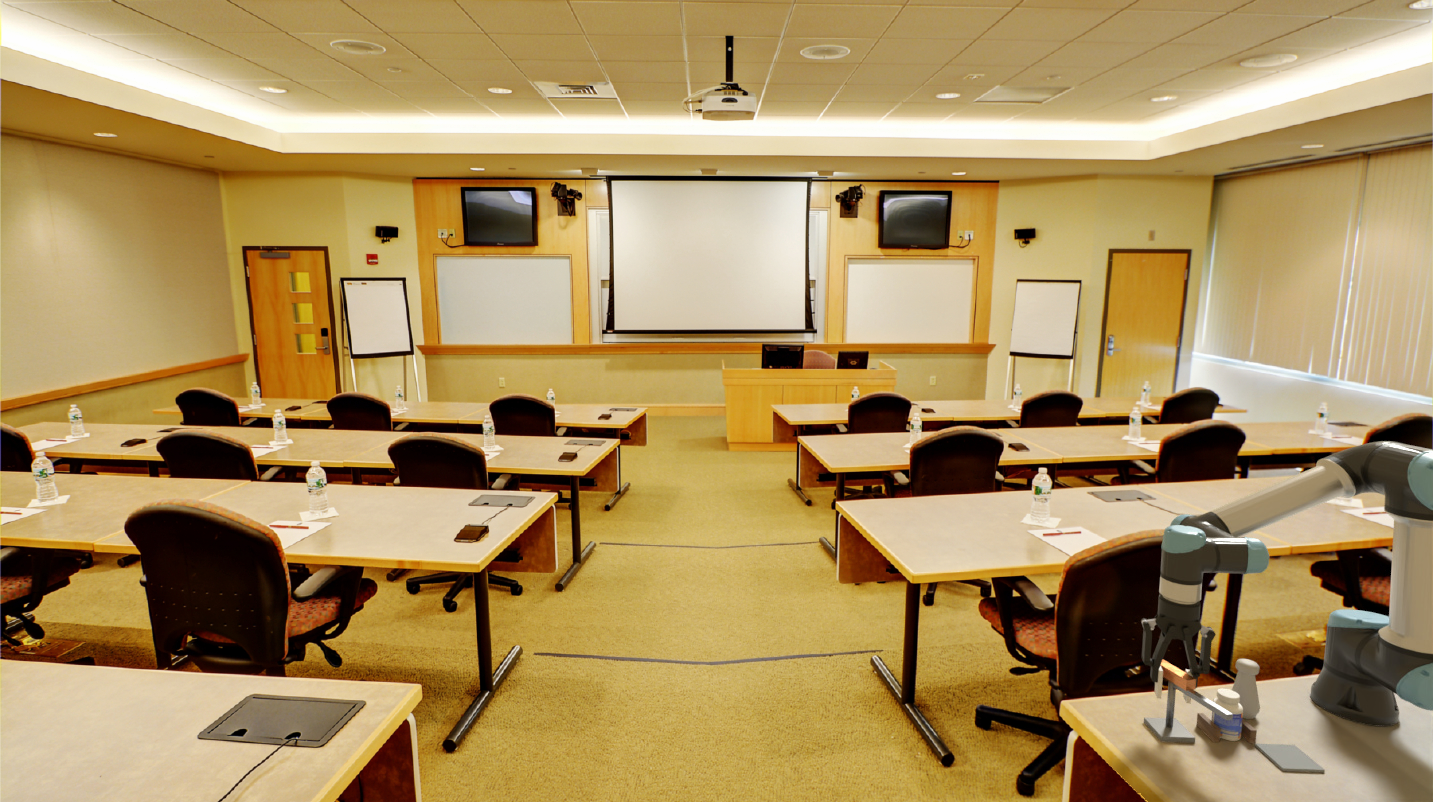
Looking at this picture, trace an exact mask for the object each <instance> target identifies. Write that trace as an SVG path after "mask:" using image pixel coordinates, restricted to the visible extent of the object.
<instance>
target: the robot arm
mask: <svg viewBox="0 0 1433 802" xmlns="http://www.w3.org/2000/svg"><path fill="white" fill-rule="evenodd" d="M1366 493H1367V494H1368V493H1369V494H1371V493H1372V494H1373V493H1376V494H1380V495H1383V496H1384V505H1383V506H1384V507H1383V509H1384V511H1383V512H1385V513H1386V514H1387V515H1388V516H1389V517H1391V518H1392V519H1393V534H1392V554H1391V555H1392V556H1391V571H1390V572H1391V573H1390V574H1391V575H1390V590H1389V591H1390V593H1389V609H1388V610H1389V612H1388V613H1389V614H1388V615H1386V614H1385V615H1384V614H1381V613H1376V612H1374V611H1373V612H1372V611H1367V610H1366V611H1365V610H1361V609H1360V610H1358V609H1349V608H1348V609H1341V608H1340V609H1336V610H1333V611H1332V612H1331V613H1329V616H1328V622H1327V623H1326V636H1325V648H1324V657H1323V666H1322V669H1321V670H1320V672H1319V674H1318V676H1317V678H1316V680H1315V681H1314V682H1313V683H1312V685H1310V699H1311V700H1312V701H1313V703H1315V704H1316V705H1317V706H1319V708H1321V709H1322V710H1325V711H1327V712H1329V713H1330V714H1332V715H1335V716H1337V717H1340V718H1343V719H1345V720H1348V721H1352V722H1355V723H1359V724H1361V725H1362V724H1364V725H1368V726H1376V727H1390V726H1391V727H1392V726H1394V725H1396V724H1398V723H1399V720H1400V719H1399V718H1400V708H1399V706H1398V703H1397V699H1396V697H1395V695H1397V696H1398V697H1399V698H1400V699H1401V700H1403V701H1405V702H1408V703H1410V704H1412V705H1414V706H1415V707H1418V708H1420V709H1422V710H1425V711H1431V712H1432V711H1433V449H1432V448H1428V447H1427V448H1425V447H1422V446H1417V445H1416V446H1415V445H1412V444H1411V445H1410V444H1406V443H1403V442H1400V441H1399V442H1398V441H1390V440H1388V441H1387V440H1384V441H1383V440H1381V441H1373V442H1369V443H1368V442H1367V443H1364V444H1363V443H1362V444H1359V445H1355V446H1353V447H1349V448H1346V449H1343V450H1340V451H1338V452H1335V453H1333V454H1330V455H1328V456H1325V457H1323V458H1320V459H1318V460H1317V462H1316V464H1315V466H1313V467H1312V468H1310V469H1307V470H1305V471H1302V472H1300V473H1298V474H1295V475H1293V476H1291V477H1288V478H1286V479H1284V480H1281V481H1279V482H1277V483H1274V484H1272V485H1269V486H1266V487H1265V488H1262V489H1260V490H1258V491H1255V492H1253V493H1251V494H1249V495H1245V496H1244V497H1243V496H1242V497H1241V498H1239V499H1236V500H1234V501H1232V502H1230V503H1229V502H1228V503H1227V504H1225V505H1221V506H1220V507H1217V508H1216V509H1213V510H1210V511H1207V512H1205V513H1203V514H1201V515H1198V516H1197V515H1194V514H1185V513H1184V514H1180V515H1178V516H1176V517H1174V519H1173V520H1172V521H1171V522H1170V525H1169V526H1167V527H1166V528H1165V529H1164V531H1163V536H1162V543H1161V546H1160V547H1161V559H1160V560H1161V561H1160V577H1159V589H1158V592H1159V595H1158V602H1157V603H1158V604H1157V613H1156V614H1155V616H1154V618H1148V619H1147V618H1145V617H1143V618H1141V620H1140V622H1141V625H1142V628H1143V630H1142V631H1143V633H1142V646H1141V647H1142V648H1141V659H1142V662H1143V664H1144V665H1145V666H1149V667H1150V673H1149V674H1150V675H1149V676H1150V679H1151V682H1152V683H1154V693H1155V696H1156V698H1157V699H1159V700H1160V699H1162V693H1163V689H1162V688H1163V680H1164V679H1163V678H1164V677H1163V670H1162V668H1161V666H1160V665H1161V663H1162V660H1164V657H1165V654H1166V652H1167V650H1168V648H1169V645H1170V644H1171V642H1172V640H1180V641H1183V645H1184V649H1185V654H1186V657H1187V658H1186V659H1187V661H1188V662H1187V663H1188V668H1189V669H1187V668H1185V670H1184V672H1185V673H1187V674H1189V675H1190V676H1192V677H1194V678H1195V679H1196V688H1195V689H1197V688H1198V682H1199V677H1201V675H1202V674H1204V675H1208V674H1209V673H1210V668H1211V667H1210V666H1211V656H1212V655H1211V654H1212V653H1211V652H1212V642H1213V641H1214V639H1215V637H1216V632H1215V631H1214V629H1213V628H1212V627H1211V626H1205V625H1203V624H1202V623H1201V621H1200V619H1201V618H1200V616H1201V615H1200V614H1201V602H1200V601H1201V600H1202V591H1203V590H1202V587H1203V579H1204V578H1203V577H1204V573H1207V574H1208V573H1209V574H1212V573H1215V574H1239V575H1240V574H1241V575H1247V574H1248V575H1249V574H1252V575H1253V574H1262V573H1263V572H1265V571H1266V570H1267V569H1268V567H1269V564H1270V562H1269V561H1270V553H1269V551H1268V548H1267V546H1266V544H1265V543H1264V542H1263V541H1262V540H1260V539H1258V538H1255V537H1247V536H1246V535H1249V534H1251V533H1254V532H1257V531H1258V530H1261V529H1263V528H1266V527H1269V526H1270V525H1271V526H1272V525H1273V524H1276V523H1279V522H1280V521H1283V520H1285V519H1288V518H1291V517H1293V516H1295V515H1298V514H1300V513H1302V512H1305V511H1308V510H1310V509H1312V508H1315V507H1317V506H1320V505H1322V504H1325V503H1327V502H1330V501H1332V500H1335V499H1337V498H1340V497H1341V498H1345V499H1350V498H1352V497H1356V496H1358V495H1360V494H1366ZM1155 626H1157V627H1158V628H1159V629H1160V633H1159V639H1158V641H1157V644H1156V647H1155V649H1154V652H1153V654H1152V642H1153V641H1152V639H1153V632H1152V631H1154V629H1155ZM1199 631H1200V635H1201V638H1200V651H1199V653H1200V654H1199V664H1198V661H1197V658H1196V653H1195V649H1194V643H1193V637H1194V636H1195V635H1197V633H1198V632H1199ZM1182 695H1183V696H1182V697H1183V699H1184V700H1185V703H1186V704H1189V705H1190V704H1191V702H1192V701H1191V700H1192V698H1190V697H1189V696H1187V695H1185V694H1184V693H1182Z"/></svg>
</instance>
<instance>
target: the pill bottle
mask: <svg viewBox="0 0 1433 802" xmlns="http://www.w3.org/2000/svg"><path fill="white" fill-rule="evenodd" d="M1212 701H1213V702H1214V703H1216V704H1218V705H1219V706H1221V707H1222V708H1224V709H1226V710H1227V711H1229V712H1231V713H1232V714H1233V719H1232V720H1225V719H1224V718H1222V717H1220V716H1219V715H1217V714H1216V713H1214V712H1213V711H1211V719H1210V720H1211V721H1212V722H1213V723H1214V724H1215V725H1216V726H1218V727H1219V728H1220V729H1221V731H1220V739H1223V740H1226V741H1229V742H1230V741H1231V742H1236V741H1240V740H1241V738H1242V736H1241V730H1242V717H1243V707H1242V706H1241V704H1240V703H1239V701H1240V696H1239V694H1238V693H1236V692H1234V691H1232V689H1229V688H1218V689H1217V690H1216V697H1214V699H1213V700H1212Z"/></svg>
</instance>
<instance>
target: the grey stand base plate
mask: <svg viewBox="0 0 1433 802" xmlns="http://www.w3.org/2000/svg"><path fill="white" fill-rule="evenodd" d="M1165 723H1166V717H1143V724H1144V725H1145V726H1146V727H1147V728H1148V729H1149V730H1150V731H1151V732H1152V733H1153V734H1154V735H1155V737H1157V739H1158V740H1159V741H1160V742H1163V743H1187V744H1188V743H1191V744H1192V743H1194V744H1195V743H1196V737H1195V736H1194V735H1193V734H1192V732H1190V731H1189V730H1188V728H1187V727H1185V725H1184V724H1182V723H1181V721H1179V719H1177V718H1176V717H1174V720H1173V728H1169V727H1166V726H1165Z"/></svg>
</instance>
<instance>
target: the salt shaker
mask: <svg viewBox="0 0 1433 802" xmlns="http://www.w3.org/2000/svg"><path fill="white" fill-rule="evenodd" d="M1235 669H1236V670H1237V673H1236V677H1235V679H1234V683H1233V685H1232V689H1231V690H1232V691H1234V692H1236V693H1238V694H1239V696H1240V701H1239V703H1240V704H1241V706H1242V707H1243V717H1242V718H1243V719H1244V720H1251V719H1255V718H1256V717H1257V716H1258V714H1259V712H1260V709H1261V704H1260V699H1259V693H1258V692H1259V691H1258V687H1257V686H1258V685H1257V680H1256V679H1257V678H1256V676H1257V675H1258V674H1259V673H1260V665H1259V664H1258V663H1257V662H1256V661H1254V660H1252V659H1248V658H1238V659H1237V660H1236V662H1235Z"/></svg>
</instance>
